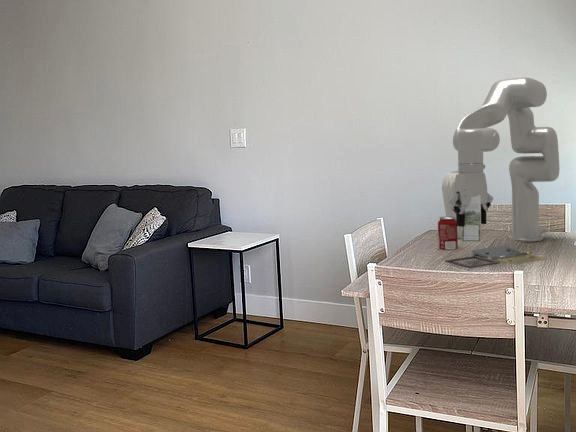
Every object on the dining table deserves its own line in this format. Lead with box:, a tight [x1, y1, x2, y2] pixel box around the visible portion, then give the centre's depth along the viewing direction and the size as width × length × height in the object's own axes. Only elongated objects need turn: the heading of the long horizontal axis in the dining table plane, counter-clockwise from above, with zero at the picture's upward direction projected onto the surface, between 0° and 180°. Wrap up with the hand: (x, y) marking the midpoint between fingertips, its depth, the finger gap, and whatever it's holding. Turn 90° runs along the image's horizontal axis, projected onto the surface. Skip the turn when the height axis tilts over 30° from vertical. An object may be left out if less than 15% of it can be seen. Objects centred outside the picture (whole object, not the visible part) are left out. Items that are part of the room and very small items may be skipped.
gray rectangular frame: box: [445, 255, 501, 272], centre depth 194 cm, size 12×12×1 cm
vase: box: [441, 170, 462, 240], centre depth 244 cm, size 13×13×26 cm
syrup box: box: [461, 195, 482, 242], centre depth 192 cm, size 6×6×14 cm
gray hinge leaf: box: [471, 245, 527, 261], centre depth 204 cm, size 14×10×1 cm
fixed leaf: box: [485, 250, 549, 266], centre depth 196 cm, size 18×11×2 cm, turn 113°
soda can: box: [437, 216, 459, 251], centre depth 219 cm, size 7×7×12 cm
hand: (471, 224), depth 193 cm, fingers closed on syrup box, 7 cm apart
